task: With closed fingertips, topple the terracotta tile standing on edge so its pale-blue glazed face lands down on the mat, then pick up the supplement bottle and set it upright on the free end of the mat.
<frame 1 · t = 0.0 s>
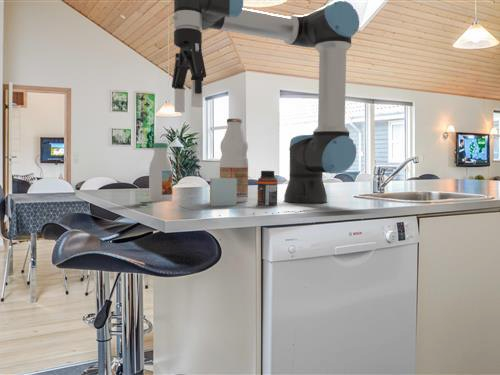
hand: (187, 109, 121), 28 cm above the table, fingers open, 13 cm apart
mat: (215, 210, 126), on the table
milk bottle: (160, 203, 149), on the table
tile: (223, 205, 131), point 1 cm above the table, touching mat
fruit juice: (233, 204, 148), on the table
supplement bottle: (267, 208, 134), on the table
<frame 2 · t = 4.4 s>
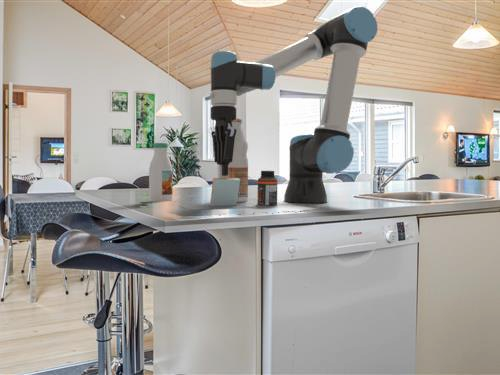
hand: (223, 186, 131), 6 cm above the table, fingers closed
tile: (223, 204, 131), point 1 cm above the table, tilted 16°, touching mat
everything else where it was.
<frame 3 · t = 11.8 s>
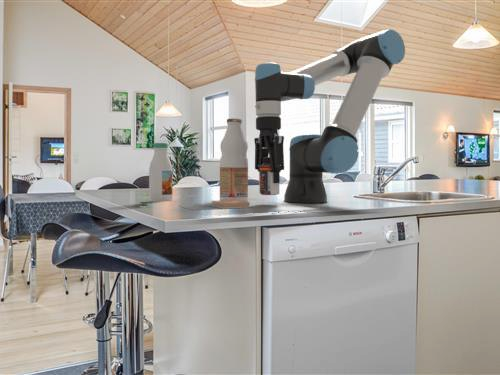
hand: (269, 193, 134), 4 cm above the table, fingers closed on supplement bottle, 6 cm apart
tile: (224, 202, 130), point 2 cm above the table, tilted 90°, touching mat
supplement bottle: (269, 195, 134), point 4 cm above the table, touching gripper
everything else where it was.
when the fingers open (2 cm above the table, at t = 17.2 s): supplement bottle drops 1 cm, resting on mat.
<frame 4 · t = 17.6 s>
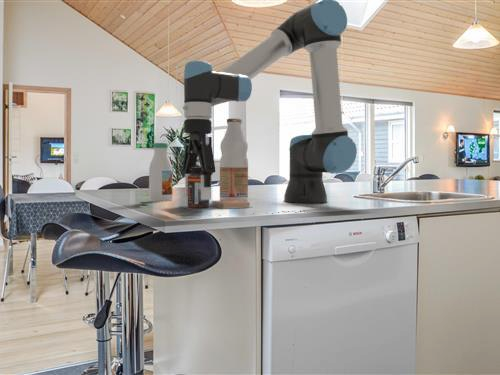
hand: (197, 197, 123), 4 cm above the table, fingers open, 11 cm apart
supplement bottle: (198, 208, 123), point 1 cm above the table, touching mat
everything else where it was.
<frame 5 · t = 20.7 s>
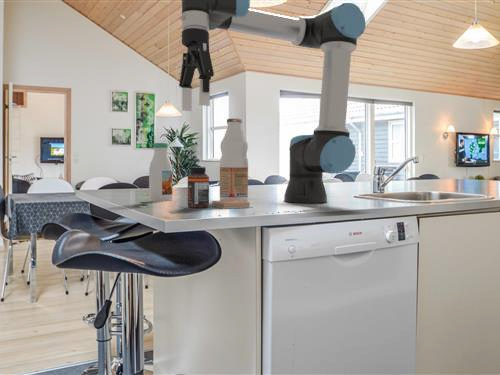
hand: (195, 108, 124), 29 cm above the table, fingers open, 13 cm apart
nothing on the table moved.
at the end: tile tilted 90°; supplement bottle inside the target area (0.2 cm from its centre), point 0.8 cm above the table; supplement bottle tilted 0° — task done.
